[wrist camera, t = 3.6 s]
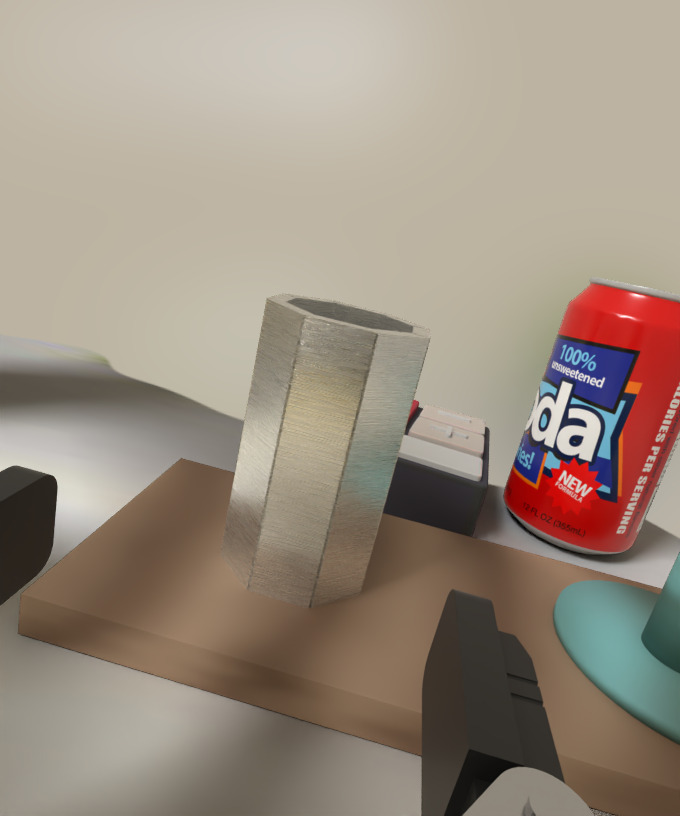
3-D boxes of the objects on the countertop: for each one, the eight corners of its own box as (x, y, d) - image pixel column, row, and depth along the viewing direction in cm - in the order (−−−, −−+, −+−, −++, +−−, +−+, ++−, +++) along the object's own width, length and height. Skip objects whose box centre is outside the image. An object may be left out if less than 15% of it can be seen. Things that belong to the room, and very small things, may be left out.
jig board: (18, 633, 18) (34, 379, 15) (177, 484, 29) (201, 325, 27) (1017, 937, 15) (1226, 696, 13) (764, 645, 27) (849, 489, 24)
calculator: (493, 418, 43) (492, 474, 29) (477, 469, 44) (469, 547, 30) (360, 380, 46) (299, 414, 31) (347, 429, 47) (283, 484, 32)
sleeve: (202, 532, 23) (243, 288, 20) (314, 514, 26) (363, 304, 23) (269, 620, 19) (334, 328, 16) (391, 585, 22) (462, 341, 19)
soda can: (657, 573, 32) (774, 315, 27) (532, 557, 30) (635, 281, 26) (583, 506, 39) (666, 294, 35) (480, 490, 38) (553, 267, 33)
